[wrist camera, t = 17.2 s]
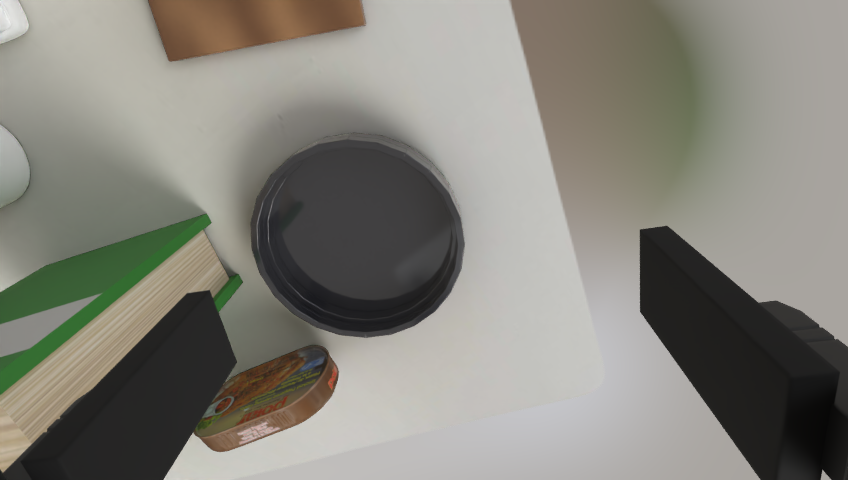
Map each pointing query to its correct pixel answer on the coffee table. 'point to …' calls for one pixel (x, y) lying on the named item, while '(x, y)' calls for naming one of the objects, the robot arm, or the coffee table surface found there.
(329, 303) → the pan
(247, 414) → the tin
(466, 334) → the coffee table surface
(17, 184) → the candle holder
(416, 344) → the coffee table surface
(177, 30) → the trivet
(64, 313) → the hardback book
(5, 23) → the calculator
